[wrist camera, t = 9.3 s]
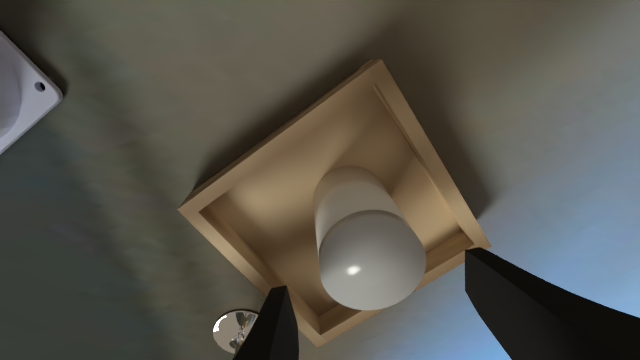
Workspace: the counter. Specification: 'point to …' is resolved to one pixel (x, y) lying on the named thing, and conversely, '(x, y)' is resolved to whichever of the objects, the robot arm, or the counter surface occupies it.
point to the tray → (299, 185)
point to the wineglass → (233, 329)
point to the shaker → (364, 241)
